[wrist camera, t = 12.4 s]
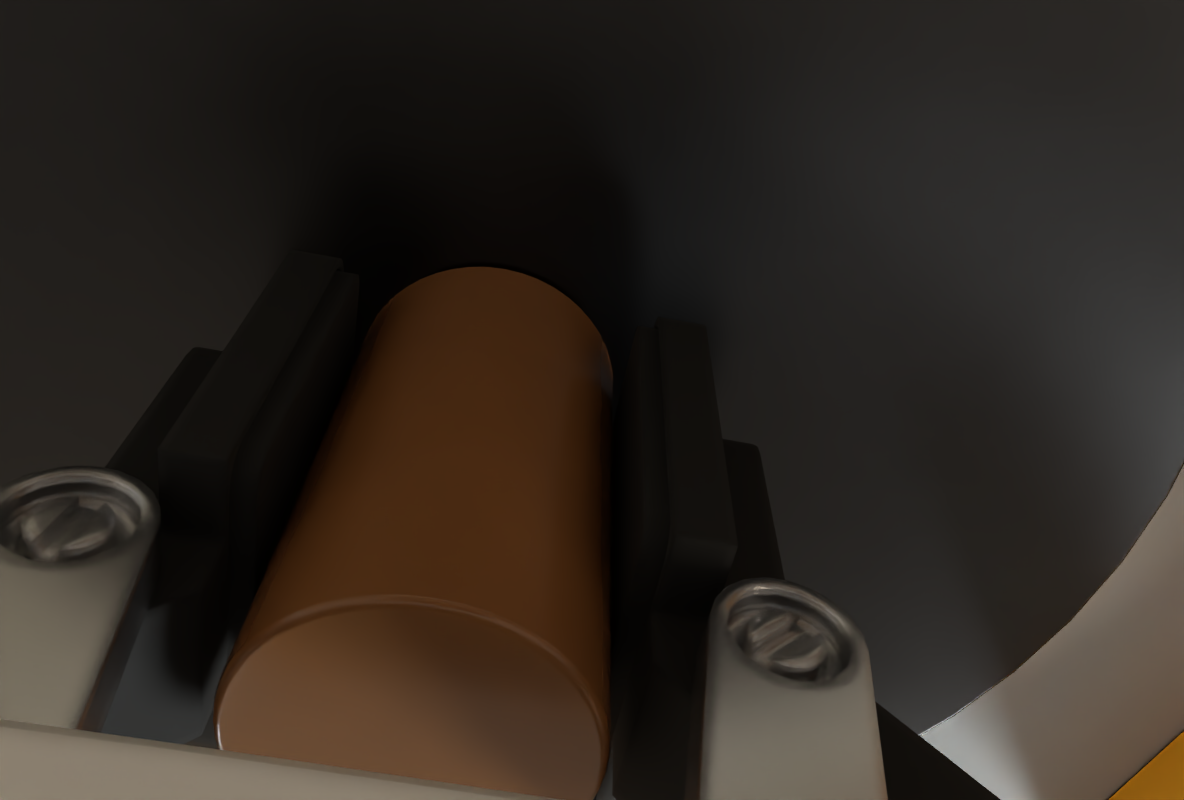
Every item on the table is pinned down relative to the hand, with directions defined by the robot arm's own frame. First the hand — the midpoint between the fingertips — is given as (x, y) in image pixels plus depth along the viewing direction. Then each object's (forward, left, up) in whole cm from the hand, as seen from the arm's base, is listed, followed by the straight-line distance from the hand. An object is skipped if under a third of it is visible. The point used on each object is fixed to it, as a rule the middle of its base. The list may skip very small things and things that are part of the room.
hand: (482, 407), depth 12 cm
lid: (0, 0, -1) cm, 1 cm away
